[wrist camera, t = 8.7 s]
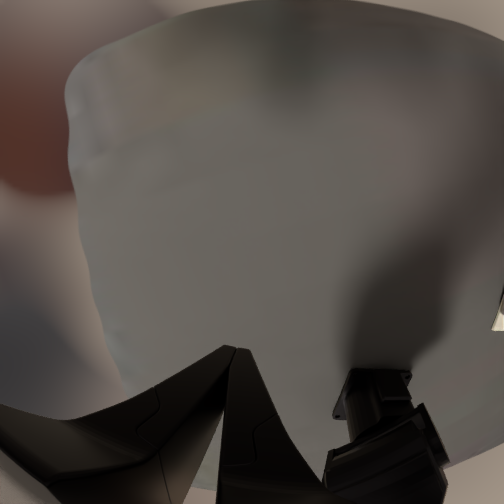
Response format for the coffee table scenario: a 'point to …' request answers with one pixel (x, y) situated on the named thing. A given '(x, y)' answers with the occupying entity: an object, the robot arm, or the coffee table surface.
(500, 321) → the mat
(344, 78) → the coffee table surface
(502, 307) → the coffee box
